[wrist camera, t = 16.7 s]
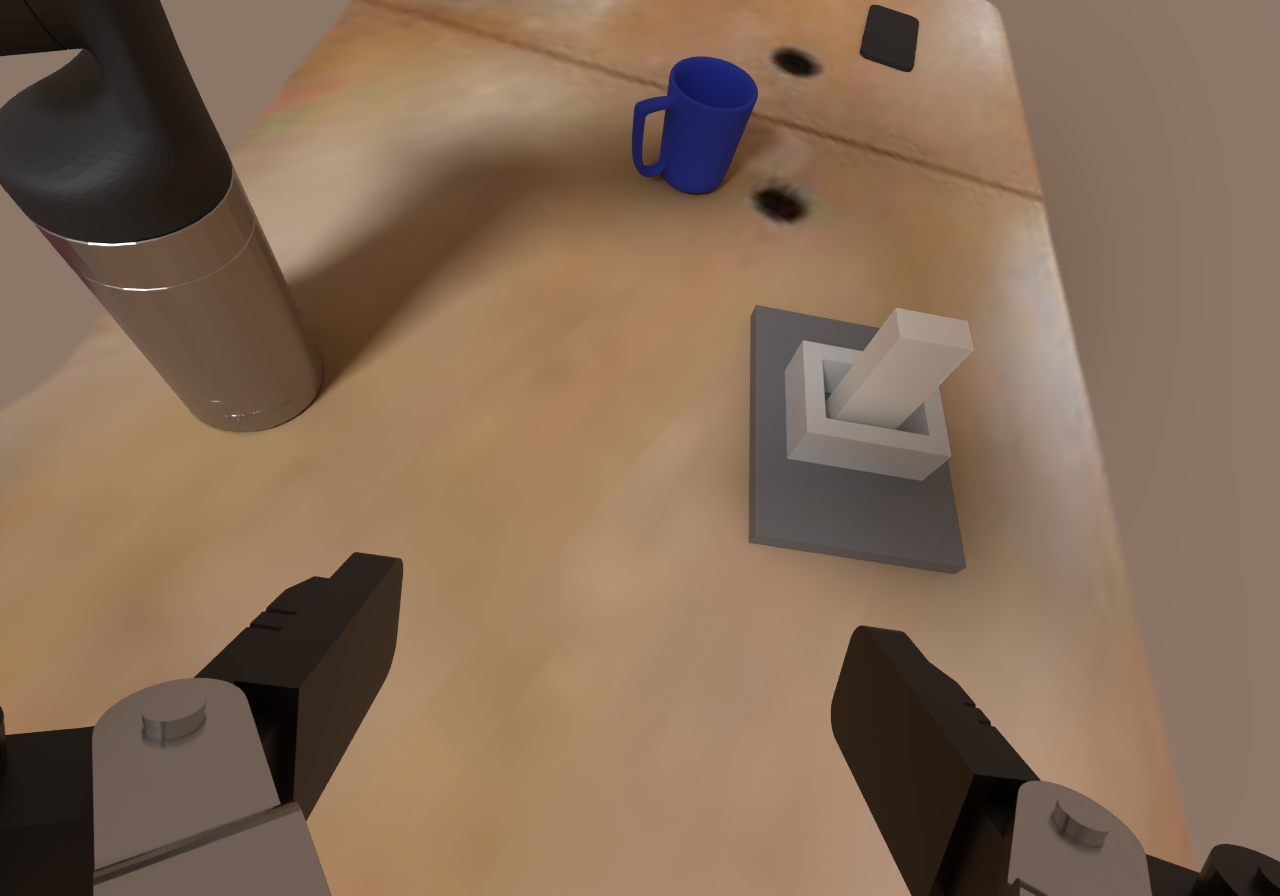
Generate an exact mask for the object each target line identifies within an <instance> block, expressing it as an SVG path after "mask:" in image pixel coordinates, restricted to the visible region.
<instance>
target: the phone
mask: <svg viewBox="0 0 1280 896" xmlns="http://www.w3.org/2000/svg"><path fill="white" fill-rule="evenodd" d="M918 27H919V21H918V20H917V19H916V18H915V17H912V16H910V15H907V14H904V13H901V12H898V11H894V10H891V9H888V8H885V7H882V6H879V5H872V6H871V7H870V9H869V13H868V17H867V22H866V26H865V31H864V35H863V38H862V44H861V49H860V54H861V56H862V57H864V58H866V59H868V60H871V61H874V62H877V63H880V64H883V65H886V66H889V67H892V68H895V69H898V70H901V71H904V72H910V71H911V70H912V68H913V66H914V60H915V51H916V43H917V35H918Z"/></svg>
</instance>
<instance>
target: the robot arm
mask: <svg viewBox="0 0 1280 896" xmlns="http://www.w3.org/2000/svg"><path fill="white" fill-rule="evenodd" d="M67 49H82V51H81V52H80V53H79V54H78V55H77V56H76V57H75V58H74V59H73V60H72V61H70V62H69V63H68V64H66V65H65V66H64V67H62V68H61V69H59V70H58V71H56V72H54V73H53V74H51V75H49V76H47V77H45V78H44V79H42V80H40V81H38V82H36V83H34V84H33V85H31V86H29V87H27V88H26V89H24V90H23V91H21V92H20V93H18V94H17V95H16V96H14V97H13V98H12V99H10V100H9V101H8V102H7V103H6V104H5V105H4V106H3V107H2V108H1V109H0V184H1V185H2V187H3V188H4V190H5V191H6V192H7V193H8V194H9V195H10V197H11V198H12V199H13V200H14V201H15V203H16V204H17V205H18V206H19V207H20V209H21V210H22V211H23V212H24V213H25V214H26V215H27V216H28V217H29V218H30V220H31V221H32V222H33V223H34V224H35V226H36V227H37V228H38V229H39V230H40V232H41V233H42V234H43V235H44V236H45V238H46V239H47V240H48V241H49V242H50V244H51V245H52V246H53V247H54V248H55V250H56V251H57V252H58V253H59V254H60V255H61V257H62V258H63V259H64V260H65V261H66V263H67V264H68V265H69V266H70V267H71V268H72V269H73V271H74V272H75V273H76V274H77V275H78V277H79V278H80V279H81V280H82V281H83V283H84V284H85V285H86V286H87V287H88V289H89V290H90V291H91V292H92V293H93V294H94V296H95V297H96V298H97V299H98V300H99V302H100V303H101V304H102V305H103V307H104V308H105V309H106V310H107V311H108V313H109V314H110V315H111V316H112V317H113V319H114V320H115V321H116V322H117V323H118V325H119V326H120V327H121V328H122V329H123V331H124V332H125V333H126V334H127V335H128V337H129V338H130V339H131V340H132V341H133V343H134V344H135V345H136V346H137V347H138V349H139V350H140V351H141V352H142V353H143V355H144V356H145V357H146V358H147V359H148V361H149V362H150V363H151V364H152V365H153V367H154V368H155V369H156V370H157V371H158V373H159V374H160V375H161V376H162V377H163V379H164V380H165V381H166V383H167V384H168V385H169V386H170V387H171V388H172V390H173V391H174V392H175V393H176V394H177V396H178V397H179V398H180V399H181V400H182V402H183V403H184V404H185V405H186V406H187V408H188V409H189V410H190V411H191V412H192V413H193V414H194V415H195V416H196V417H197V418H198V419H199V420H200V421H202V422H204V423H206V424H208V425H210V426H211V427H214V428H218V429H221V430H225V431H233V432H252V431H259V430H264V429H268V428H272V427H274V426H277V425H279V424H282V423H284V422H286V421H288V420H290V419H291V418H293V417H295V416H296V415H298V414H299V413H300V412H301V411H303V410H304V409H305V408H306V407H307V406H308V405H309V404H310V403H311V401H312V400H313V399H314V398H315V396H316V395H317V393H318V390H319V388H320V386H321V383H322V378H323V367H322V362H321V360H320V357H319V355H318V352H317V350H316V348H315V346H314V343H313V341H312V339H311V337H310V334H309V332H308V330H307V328H306V325H305V323H304V321H303V318H302V316H301V314H300V312H299V309H298V307H297V305H296V303H295V301H294V298H293V296H292V294H291V292H290V290H289V287H288V285H287V283H286V281H285V278H284V276H283V274H282V272H281V270H280V267H279V265H278V263H277V261H276V258H275V256H274V254H273V252H272V250H271V247H270V245H269V243H268V241H267V239H266V236H265V234H264V232H263V230H262V227H261V225H260V223H259V221H258V219H257V216H256V214H255V212H254V210H253V208H252V206H251V204H250V202H249V199H248V197H247V195H246V193H245V191H244V188H243V186H242V184H241V182H240V179H239V177H238V175H237V173H236V171H235V168H234V166H233V164H232V162H231V160H230V157H229V155H228V153H227V151H226V149H225V146H224V144H223V142H222V140H221V138H220V136H219V134H218V132H217V130H216V128H215V125H214V123H213V121H212V119H211V117H210V115H209V113H208V111H207V109H206V107H205V105H204V103H203V100H202V98H201V96H200V94H199V92H198V90H197V88H196V86H195V83H194V81H193V79H192V76H191V74H190V72H189V70H188V67H187V65H186V63H185V61H184V58H183V56H182V54H181V52H180V49H179V47H178V45H177V42H176V40H175V37H174V35H173V32H172V29H171V27H170V24H169V22H168V19H167V17H166V14H165V12H164V9H163V7H162V4H161V2H160V0H0V56H7V55H18V54H29V53H39V52H49V51H60V50H67ZM402 579H403V562H402V560H401V559H400V558H394V557H387V556H380V555H373V554H366V553H359V552H355V553H353V554H352V555H351V556H350V557H349V558H348V559H347V560H346V561H345V562H344V563H343V565H342V566H341V567H340V568H339V569H338V570H337V571H336V572H335V573H334V574H333V575H332V576H331V577H330V578H323V577H316V576H314V577H312V578H310V579H308V580H305V581H303V582H301V583H299V584H297V585H295V586H292V587H290V588H288V589H286V590H285V591H284V592H283V593H281V594H280V595H279V596H278V597H277V598H276V599H275V600H274V601H273V602H272V603H271V604H270V605H269V606H268V607H267V608H266V611H265V612H262V613H261V614H260V615H259V616H258V617H257V618H256V619H254V620H253V621H252V622H251V624H250V627H249V628H248V627H246V628H245V629H244V630H243V631H242V632H241V633H240V634H239V635H238V636H237V637H236V638H235V639H234V640H233V641H232V642H231V643H230V644H228V645H227V646H226V647H225V648H224V649H223V650H222V651H221V652H220V653H219V654H218V655H217V656H216V657H215V658H214V659H213V660H212V661H211V662H210V663H209V664H208V665H207V666H206V667H205V668H204V669H203V670H201V671H200V672H199V673H198V674H197V675H196V676H195V677H194V678H188V679H179V680H174V681H168V682H164V683H160V684H157V685H154V686H151V687H148V688H145V689H142V690H140V691H138V692H136V693H133V694H131V695H129V696H128V697H126V698H124V699H122V700H120V701H119V702H118V703H116V704H115V705H113V706H112V707H111V708H110V709H108V710H107V711H106V712H105V713H104V714H103V715H102V716H101V718H100V719H99V720H98V722H97V723H96V725H95V726H92V727H84V728H75V729H65V730H54V731H44V732H33V733H23V734H12V735H5V725H4V713H3V711H2V708H1V707H0V896H332V895H331V892H330V889H329V886H328V884H327V881H326V878H325V875H324V872H323V869H322V866H321V864H320V861H319V858H318V855H317V852H316V849H315V846H314V843H313V841H312V838H311V835H310V832H309V829H308V826H307V823H306V821H307V819H308V817H309V816H310V814H311V812H312V810H313V808H314V807H315V805H316V803H317V801H318V799H319V798H320V796H321V794H322V792H323V790H324V789H325V787H326V785H327V783H328V782H329V780H330V778H331V776H332V774H333V773H334V771H335V769H336V767H337V765H338V764H339V762H340V760H341V758H342V756H343V755H344V753H345V751H346V749H347V748H348V746H349V744H350V742H351V740H352V739H353V737H354V735H355V733H356V731H357V730H358V728H359V726H360V724H361V722H362V721H363V719H364V717H365V715H366V714H367V712H368V710H369V708H370V706H371V705H372V703H373V701H374V699H375V697H376V696H377V694H378V692H379V690H380V688H381V687H382V685H383V683H384V681H385V679H386V677H387V675H388V673H389V670H390V667H391V664H392V661H393V657H394V653H395V648H396V641H397V632H398V621H399V610H400V600H401V589H402ZM975 705H976V704H975V703H974V702H973V701H972V699H971V698H970V697H969V696H968V695H967V694H966V692H965V691H964V690H963V689H962V688H961V686H960V685H959V684H958V683H957V682H956V681H954V680H953V679H951V678H950V677H949V676H947V675H946V674H945V673H943V672H942V671H941V670H939V669H938V668H937V667H935V666H934V665H933V664H931V663H930V662H929V661H928V660H927V659H926V658H925V656H924V655H923V654H922V653H921V652H920V650H919V649H918V648H917V647H916V646H915V644H914V643H913V642H912V641H911V639H910V638H909V637H908V636H907V635H906V634H905V633H904V632H902V631H897V630H890V629H883V628H876V627H869V626H859V627H857V628H856V629H855V631H854V632H853V634H852V636H851V639H850V642H849V646H848V649H847V652H846V656H845V659H844V662H843V666H842V669H841V672H840V676H839V679H838V682H837V686H836V689H835V692H834V696H833V700H832V705H831V725H832V730H833V734H834V737H835V739H836V741H837V743H838V745H839V747H840V750H841V752H842V754H843V756H844V758H845V760H846V762H847V764H848V766H849V768H850V770H851V772H852V774H853V776H854V778H855V780H856V782H857V784H858V786H859V789H860V791H861V793H862V795H863V797H864V799H865V801H866V803H867V805H868V807H869V809H870V811H871V813H872V815H873V817H874V819H875V821H876V823H877V826H878V828H879V830H880V832H881V834H882V836H883V838H884V840H885V842H886V844H887V846H888V848H889V850H890V852H891V854H892V856H893V858H894V860H895V863H896V865H897V867H898V869H899V871H900V873H901V875H902V877H903V879H904V881H905V883H906V885H907V887H908V889H909V891H910V893H911V895H912V896H1280V862H1279V861H1277V860H1275V859H1273V858H1271V857H1268V856H1266V855H1264V854H1261V853H1259V852H1257V851H1254V850H1251V849H1248V848H1245V847H1241V846H1236V845H1230V844H1221V845H1217V846H1215V847H1214V848H1213V849H1212V850H1211V852H1210V854H1209V856H1208V858H1207V860H1206V862H1205V864H1204V866H1203V868H1202V870H1201V872H1200V873H1198V872H1195V871H1193V870H1190V869H1187V868H1184V867H1181V866H1178V865H1175V864H1173V863H1170V862H1167V861H1164V860H1161V859H1158V858H1156V857H1153V856H1150V855H1147V854H1145V852H1144V849H1143V847H1142V845H1141V843H1140V842H1139V840H1138V839H1137V838H1136V836H1135V835H1134V834H1133V833H1132V832H1131V830H1130V829H1129V828H1128V827H1127V826H1126V825H1125V824H1124V823H1123V822H1121V821H1120V820H1119V819H1118V818H1117V817H1116V816H1114V815H1113V814H1112V813H1111V812H1110V811H1108V810H1107V809H1105V808H1104V807H1102V806H1101V805H1100V804H1098V803H1096V802H1095V801H1093V800H1091V799H1090V798H1088V797H1086V796H1084V795H1082V794H1080V793H1078V792H1076V791H1074V790H1072V789H1069V788H1067V787H1064V786H1061V785H1058V784H1055V783H1051V782H1045V781H1041V780H1040V779H1039V778H1038V777H1037V775H1036V774H1035V773H1034V772H1033V771H1032V770H1031V768H1030V767H1029V766H1028V765H1027V764H1026V763H1025V761H1024V760H1023V759H1022V758H1021V757H1020V756H1019V754H1018V753H1017V752H1016V751H1015V750H1014V749H1013V747H1012V746H1011V745H1010V744H1009V743H1008V741H1007V740H1006V739H1005V738H1004V737H1003V736H1002V734H1001V733H1000V732H999V731H998V730H997V729H996V727H993V726H991V722H990V720H989V719H988V718H987V717H986V716H985V715H984V713H983V712H982V711H981V710H980V709H979V708H976V707H975Z"/></svg>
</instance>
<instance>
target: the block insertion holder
mask: <svg viewBox="0 0 1280 896" xmlns="http://www.w3.org/2000/svg"><path fill="white" fill-rule="evenodd" d="M879 329H880V328H875V327H869V326H864V325H859V324H853V323H848V322H843V321H837V320H832V319H827V318H821V317H816V316H811V315H805V314H800V313H795V312H789V311H784V310H779V309H773V308H768V307H763V306H757V305H756V306H755V309H754V311H753V313H752V315H751V358H750V483H749V543H755V544H761V545H768V546H774V547H781V548H788V549H794V550H801V551H807V552H814V553H820V554H827V555H833V556H840V557H846V558H853V559H859V560H866V561H873V562H879V563H886V564H892V565H899V566H905V567H912V568H918V569H925V570H931V571H938V572H944V573H951V574H955V573H957V572H959V571H960V570H962V569H964V568H966V564H965V559H964V553H963V547H962V541H961V536H960V530H959V524H958V518H957V513H956V507H955V501H954V496H953V490H952V484H951V478H950V473H949V467H948V461H947V460H948V459H949V458H950V457H952V456H951V451H950V445H949V440H948V434H947V428H946V423H945V417H944V412H943V406H942V400H941V395H940V389H939V387H938V388H937V389H936V390H935V391H934V392H933V393H932V394H931V395H930V396H929V397H928V398H927V399H926V400H925V401H924V402H923V403H922V404H921V405H920V406H919V407H918V408H917V409H916V410H915V411H914V412H913V413H912V414H911V415H910V416H909V417H908V418H907V419H906V420H905V421H904V422H903V423H902V424H901V425H900V426H899V427H898V428H897V429H896V430H893V429H887V428H881V427H875V426H870V425H864V424H858V423H852V422H846V421H841V420H835V419H829V418H826V409H825V402H826V401H827V399H828V398H829V397H830V395H831V394H832V393H833V391H834V390H835V389H836V387H837V386H838V384H839V383H840V382H841V380H842V379H843V378H844V376H845V375H846V374H847V372H848V371H849V370H850V368H851V367H852V366H853V364H854V363H855V362H856V360H857V359H858V358H859V356H860V355H861V354H862V352H863V351H864V350H865V348H866V347H867V346H868V344H869V343H870V342H871V340H872V339H873V337H874V336H875V335H876V333H877V332H878V331H879Z"/></svg>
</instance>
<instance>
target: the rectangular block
mask: <svg viewBox="0 0 1280 896" xmlns="http://www.w3.org/2000/svg"><path fill="white" fill-rule="evenodd" d="M973 351H974V348H973V344H972V339H971V335H970V331H969V326H968V322H967V321H965V320H960V319H954V318H949V317H943V316H938V315H933V314H927V313H922V312H917V311H911V310H906V309H901V308H895V309H894V311H893V312H892V313H891V315H890V316H889V317H888V319H887V320H886V321H885V323H884V324H883V325H882V327H881V328H880V329H879V331H878V332H877V333H876V335H875V336H874V337H873V339H872V340H871V342H870V343H869V344H868V346H867V347H866V348H865V350H864V351H863V352H862V354H861V355H860V356H859V358H858V359H857V360H856V362H855V363H854V364H853V366H852V367H851V368H850V370H849V371H848V372H847V374H846V375H845V376H844V378H843V379H842V380H841V382H840V383H839V384H838V386H837V387H836V389H835V390H834V391H833V393H832V394H831V395H830V397H829V398H828V399H827V401H826V402H825V409H826V418H829V419H835V420H841V421H846V422H852V423H858V424H864V425H870V426H875V427H881V428H887V429H893V430H896V429H897V428H898V427H899V426H900V425H901V424H902V423H903V422H904V421H905V420H906V419H907V418H908V417H909V416H910V415H911V414H912V413H913V412H914V411H915V410H916V409H917V408H918V407H919V406H920V405H921V404H922V403H923V402H924V401H925V400H926V399H927V398H928V397H929V396H930V395H931V394H932V393H933V392H934V391H935V390H936V389H937V388H938V387H939V386H940V384H941V383H942V382H943V381H944V380H945V379H946V378H947V377H948V376H949V375H950V374H951V373H952V372H953V371H954V370H955V369H956V368H957V367H958V366H959V365H960V364H961V363H962V362H963V361H964V360H965V359H966V358H967V357H968V356H969V355H970V354H971V353H972V352H973Z"/></svg>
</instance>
